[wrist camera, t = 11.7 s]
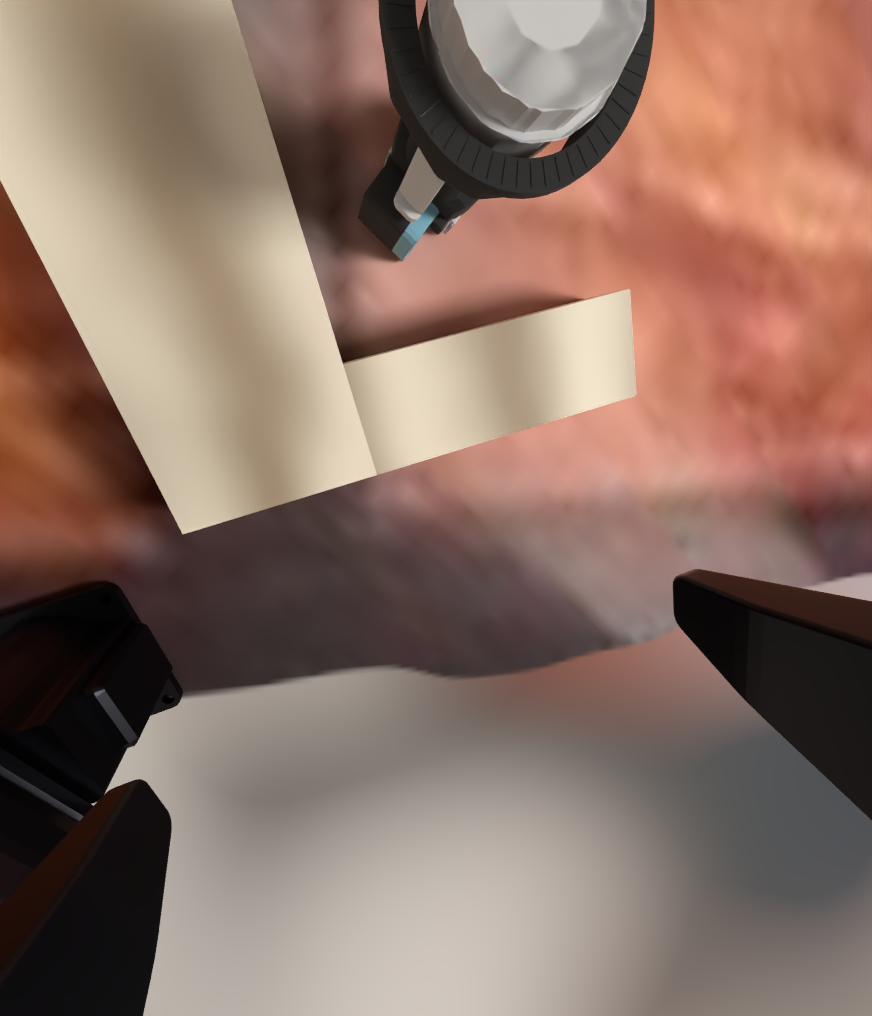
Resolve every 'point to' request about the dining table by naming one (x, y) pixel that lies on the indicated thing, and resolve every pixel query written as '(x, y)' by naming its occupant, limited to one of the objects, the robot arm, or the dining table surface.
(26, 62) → the notched board
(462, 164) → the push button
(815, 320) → the dining table surface
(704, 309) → the dining table surface
